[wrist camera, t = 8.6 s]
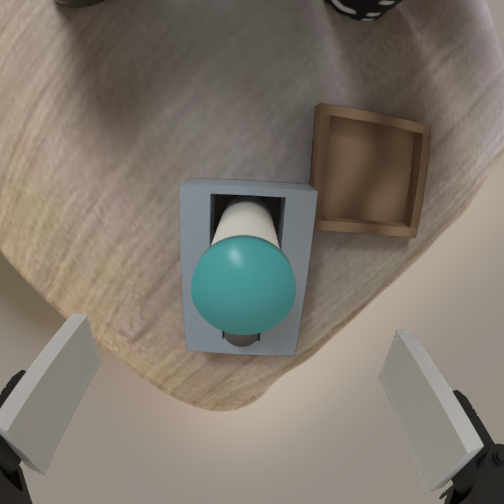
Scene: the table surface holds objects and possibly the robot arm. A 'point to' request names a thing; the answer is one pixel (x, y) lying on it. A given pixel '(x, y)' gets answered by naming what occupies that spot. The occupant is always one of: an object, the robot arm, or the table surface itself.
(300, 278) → the housing
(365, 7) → the spotted tube
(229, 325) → the ball
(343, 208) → the tray
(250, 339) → the plunger
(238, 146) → the table surface
